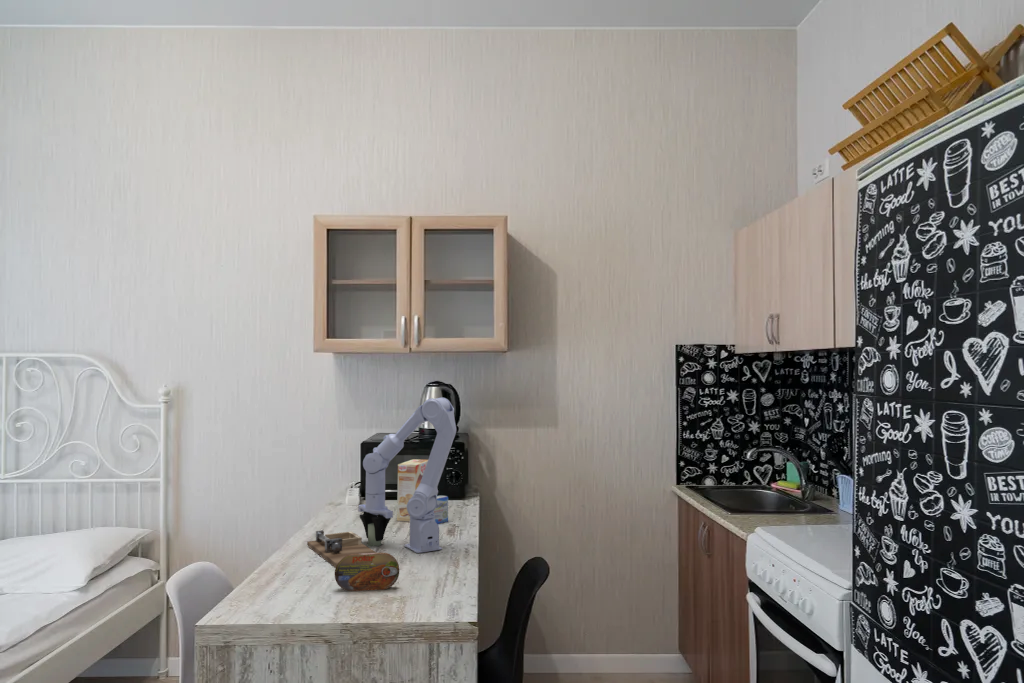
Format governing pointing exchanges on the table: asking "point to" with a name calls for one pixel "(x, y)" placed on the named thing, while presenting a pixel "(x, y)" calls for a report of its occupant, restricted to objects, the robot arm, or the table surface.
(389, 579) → the tin
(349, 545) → the walnut base with seat
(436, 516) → the medicine box
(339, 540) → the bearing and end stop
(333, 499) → the table surface
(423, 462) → the coffeecake box
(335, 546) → the steel shaft
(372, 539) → the cylinder
